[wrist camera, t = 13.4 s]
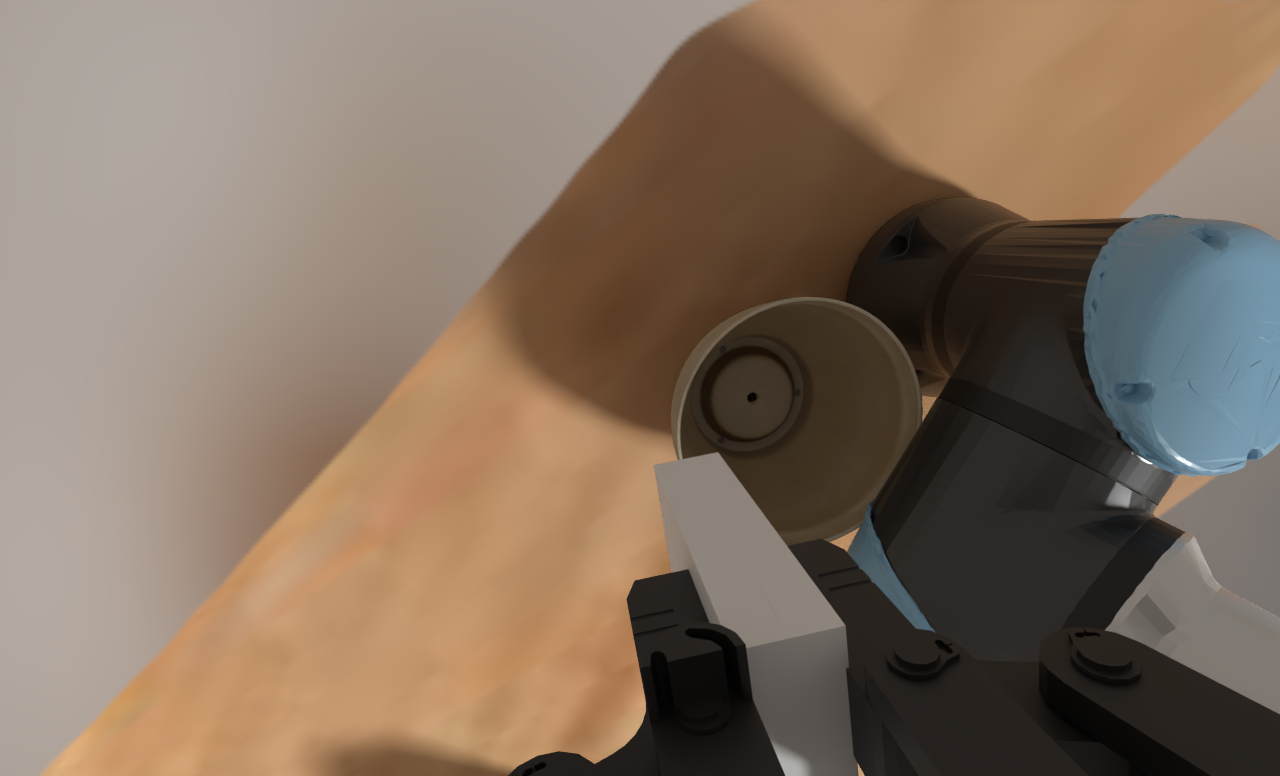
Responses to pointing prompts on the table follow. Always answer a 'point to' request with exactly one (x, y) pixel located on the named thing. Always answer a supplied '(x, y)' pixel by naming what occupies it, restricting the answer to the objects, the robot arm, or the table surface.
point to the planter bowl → (801, 410)
